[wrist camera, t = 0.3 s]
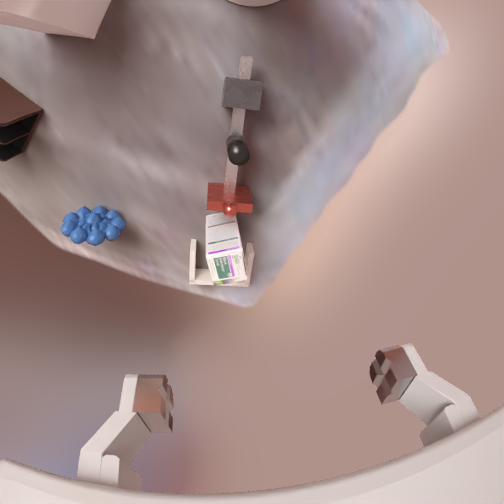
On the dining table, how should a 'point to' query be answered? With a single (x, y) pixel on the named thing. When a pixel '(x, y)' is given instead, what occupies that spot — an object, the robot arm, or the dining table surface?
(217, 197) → the linear slider rail
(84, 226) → the grapes
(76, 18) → the milk
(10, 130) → the letter holder
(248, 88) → the grey hollow block
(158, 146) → the dining table surface
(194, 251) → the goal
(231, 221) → the syrup box
